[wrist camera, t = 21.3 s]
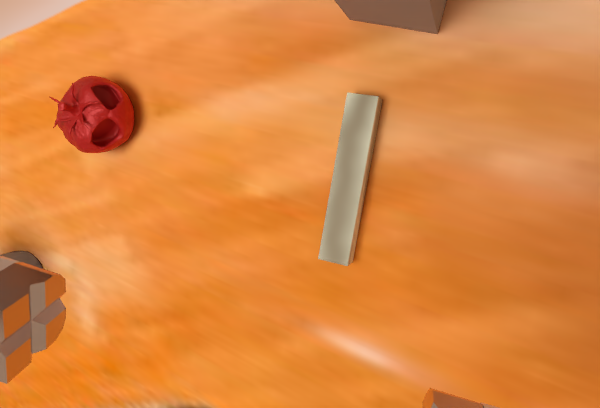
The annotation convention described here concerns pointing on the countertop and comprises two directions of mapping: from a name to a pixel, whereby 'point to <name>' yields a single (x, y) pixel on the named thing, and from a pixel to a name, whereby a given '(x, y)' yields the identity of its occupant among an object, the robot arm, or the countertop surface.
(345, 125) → the beige block
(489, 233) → the countertop surface
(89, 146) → the pomegranate
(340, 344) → the countertop surface
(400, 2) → the tall stand
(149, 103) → the countertop surface
